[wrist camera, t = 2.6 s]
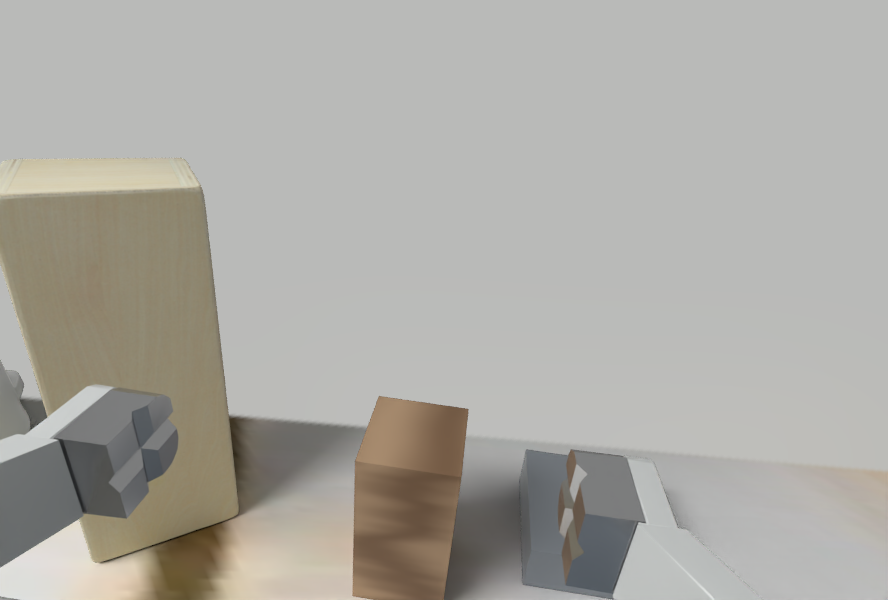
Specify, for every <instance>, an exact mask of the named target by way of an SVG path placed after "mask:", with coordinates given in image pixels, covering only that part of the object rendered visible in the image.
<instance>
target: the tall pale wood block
mask: <svg viewBox="0 0 888 600" xmlns="http://www.w3.org/2000/svg"><path fill="white" fill-rule="evenodd" d="M0 265H1V268H2V271H3V274H4V277H5V281H6V284H7V287H8V291H9V294H10V297H11V301H12V304H13V307H14V310H15V313H16V317H17V319H18V323H19V326H20V329H21V333H22V336H23V339H24V342H25V345H26V349H27V352H28V355H29V358H30V362H31V365H32V368H33V371H34V375H35V378H36V381H37V385H38V388H39V391H40V394H41V397H42V401H43V404H44V407H45V410H46V414H47V417H48V416H50V415H51V414H52V413H54V412H55V411H56V410H57V409H59V408H60V407H61V406H63V405H64V404H65V403H66V402H68V401H69V400H70V399H71V398H73V397H74V396H75V395H77V394H78V393H79V392H80V391H82V390H83V389H84V388H86V387H87V386H91V385H95V384H98V385H104V386H110V387H116V388H119V387H120V388H126V389H132V390H139V391H145V392H151V393H157V394H164V395H165V396H167V397H169V398H170V399H171V403H172V407H173V412H172V414H171V415H170V417H169V418H168V419H169V420H170V422H171V423H172V424H173V425H174V426H175V427H176V428H177V432H178V438H179V439H178V450H177V452H176V455H175V457H174V460H173V462H172V464H171V465H170V467H169V468H168V469H167V470H166V472H165V473H164V474H163V475H161V476H159V477H158V478H156V479H154V480H152V481H150V482H149V493H148V494H147V495H146V496H145V497H144V499H143V500H142V501H141V502H140V504H139V505H138V506H137V507H136V508H135V510H134V511H133V512H132V513H131V514H130V516H129V517H128V518H127V519H125V518H116V517H108V516H100V515H92V514H84V516H83V517H81V518H80V519H79V521H80V524H81V527H82V530H83V534H84V537H85V540H86V543H87V547H88V550H89V553H90V556H91V559H92V561H93V562H95V563H97V562H102V561H106V560H109V559H112V558H115V557H119V556H122V555H124V554H127V553H130V552H133V551H136V550H139V549H142V548H145V547H148V546H151V545H154V544H157V543H160V542H163V541H166V540H169V539H172V538H175V537H178V536H181V535H183V534H186V533H189V532H192V531H195V530H198V529H201V528H204V527H207V526H210V525H213V524H216V523H219V522H222V521H225V520H227V519H230V518H232V517H234V516H236V515H237V514H238V513H239V505H238V495H237V487H236V477H235V468H234V459H233V450H232V441H231V431H230V422H229V414H228V406H227V397H226V388H225V377H224V369H223V361H222V352H221V343H220V334H219V324H218V315H217V306H216V297H215V288H214V279H213V269H212V260H211V252H210V243H209V234H208V225H207V216H206V207H205V200H204V194H203V190H202V187H201V185H200V183H199V181H198V180H197V178H196V176H195V175H194V173H193V171H192V170H191V168H190V166H189V165H188V163H187V161H186V160H184V159H182V158H103V159H102V158H101V159H15V160H14V159H13V160H5V161H4V162H2V163H1V165H0Z"/></svg>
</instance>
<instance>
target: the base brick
mask: <svg viewBox="0 0 888 600" xmlns="http://www.w3.org/2000/svg"><path fill="white" fill-rule="evenodd" d="M567 459H568V456H567V455H560V454H553V453H546V452H540V451H533V450H526V453H525V457H524V462H523V467H522V471H521V476H520V480H519V484H520V516H521V548H522V581H523V585H529V586H535V587H542V588H548V589H554V590H560V591H566V592H572V593H579V594H585V595H591V596H597V597H603V598H609V599H614V598H613V594H611V593H605V592H599V591H594V590H588V589H583V588H577V587H572V586H566V585H565V577H564V569H563V561H562V549H563V545H564V541H565V538H564V537H563V536H562V535H561V534H560V532H559V525H558V502H559V493H560V489H561V484H562V482H563V481H564V480H565V479H567V478H568V476H567V468H566V463H567Z"/></svg>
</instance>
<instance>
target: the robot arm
mask: <svg viewBox="0 0 888 600" xmlns="http://www.w3.org/2000/svg"><path fill="white" fill-rule="evenodd" d="M23 388H24V383H23V381H22V379H21V377H20V375H19V373H18V372H16V371H12V370H5V368H4V366H3V364H2V362H1V360H0V567H2V566H3V565H5V564H7V563H8V562H10V561H12V560H13V559H15V558H16V557H18V556H20V555H21V554H23V553H25V552H26V551H28V550H29V549H31V548H33V547H34V546H36V545H37V544H39V543H41V542H42V541H44V540H46V539H47V538H49V537H50V536H52V535H54V534H55V533H57V532H59V531H60V530H62V529H63V528H65V527H67V526H68V525H70V524H72V523H73V522H75V521H76V520H78V519H80V518H81V517H83V516H84V514H92V515H100V516H108V517H116V518H125V519H127V518H128V517H129V516H130V514H131V513H132V512H133V511H134V510H135V508H136V507H137V506H138V505H139V504H140V502H141V501H142V500H143V499H144V497H145V496H146V495H147V494H148V493H149V482H150V481H152V480H154V479H156V478H158V477H159V476H161V475H163V474H164V473H165V472H166V470H167V469H168V468H169V467H170V465H171V464H172V462H173V460H174V457H175V455H176V452H177V450H178V439H179V438H178V432H177V428H176V427H175V426H174V425H173V424H172V423H171V422H170V420H169V419H168V418H169V417H170V415H171V414H172V412H173V407H172V403H171V399H170V398H169V397H167V396H165V395H164V394H157V393H151V392H145V391H139V390H132V389H126V388H120V387H119V388H116V387H110V386H104V385H98V384H95V385H91V386H87V387H86V388H84V389H83V390H82V391H80V392H79V393H78V394H77V395H75V396H74V397H73V398H71V399H70V400H69V401H68V402H66V403H65V404H64V405H63V406H61V407H60V408H59V409H57V410H56V411H55V412H54V413H52V414H51V415H50V416H48V417H47V418H46V419H45V420H43V421H42V422H41V423H39V424H38V425H37V426H36V427H34V428H33V429H32V430H31V431H30V419H29V416H28V414H27V412H26V411H25V409H24V408H23V406H22V405H21V403H20V397H21V394H22V391H23ZM566 468H567V476H568V478H567V479H565V480H564V481H563V482H562V484H561V489H560V493H559V502H558V525H559V532H560V534H561V535H562V536H563V537H564V538H565V541H564V545H563V549H562V561H563V569H564V577H565V585H566V586H572V587H577V588H583V589H588V590H594V591H599V592H605V593H611V594H613V598H614V599H615V600H763V599H762V598H761V597H760V596H759V595H758V594H757V593H756V592H754V591H753V590H752V589H751V588H750V587H749V586H748V585H747V584H746V583H745V582H744V581H742V580H741V579H740V578H739V577H738V576H737V575H736V574H735V573H734V572H733V571H732V570H731V569H729V568H728V567H727V566H726V565H725V564H724V563H723V562H722V561H721V560H720V559H719V558H717V557H716V556H715V555H714V554H713V553H712V552H711V551H710V550H709V549H708V548H707V547H705V546H704V545H703V544H702V543H701V542H700V541H699V540H698V539H697V538H696V537H695V536H694V535H692V534H691V533H690V532H689V531H688V530H687V529H680V528H678V525H677V522H676V520H675V517H674V514H673V512H672V509H671V506H670V504H669V501H668V498H667V496H666V493H665V490H664V488H663V485H662V482H661V480H660V477H659V474H658V472H657V469H656V466H655V464H654V462H653V461H652V460H651V459H649V458H640V457H631V456H619V455H611V454H603V453H595V452H587V451H579V450H572V449H571V451H570V453H569V455H568V459H567V463H566ZM0 600H18V599H12V598H6V597H0Z"/></svg>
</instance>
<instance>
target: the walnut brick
mask: <svg viewBox="0 0 888 600" xmlns="http://www.w3.org/2000/svg"><path fill="white" fill-rule="evenodd" d="M467 419H468V409H465V408H458V407H451V406H443V405H436V404H430V403H423V402H416V401H409V400H402V399H395V398H388V397H381V396H379V398H378V400H377V403H376V406H375V408H374V411H373V414H372V417H371V419H370V422H369V425H368V427H367V430H366V433H365V436H364V438H363V441H362V444H361V446H360V449H359V452H358V455H357V457H356V460H355V494H354V548H353V596H355V597H361V598H367V599H373V600H444V593H445V586H446V579H447V572H448V565H449V559H450V552H451V545H452V538H453V531H454V524H455V518H456V511H457V504H458V497H459V490H460V483H461V476H462V467H463V457H464V447H465V438H466V428H467Z"/></svg>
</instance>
